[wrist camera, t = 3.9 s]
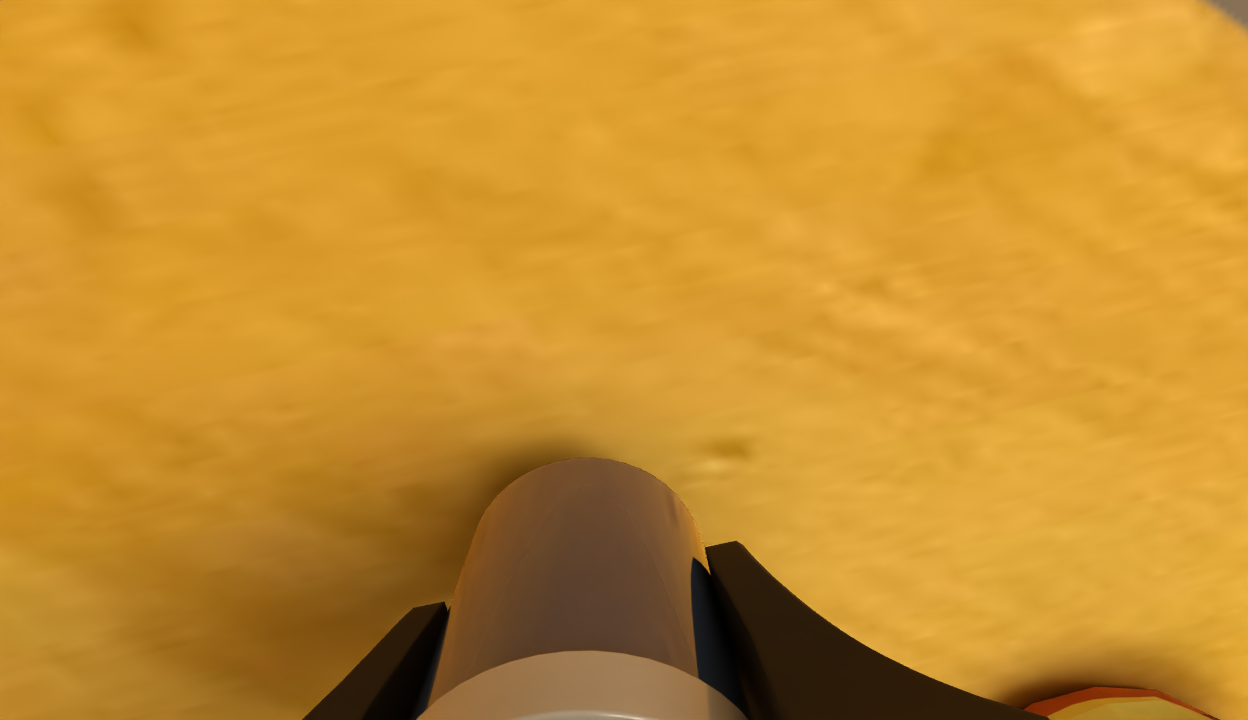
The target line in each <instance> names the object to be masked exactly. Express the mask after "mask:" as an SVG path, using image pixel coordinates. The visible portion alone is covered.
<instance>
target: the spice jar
mask: <svg viewBox="0 0 1248 720" xmlns="http://www.w3.org/2000/svg"><path fill="white" fill-rule="evenodd" d="M411 720H753V717H752V713H751V710H750V706H749V703H748V699H747V696H746V693H745V689H744V686H743V682H742V679H741V676H740V672H739V669H738V665H737V662H736V659H735V655H734V652H733V648H732V645H731V641H730V638H729V635H728V631H727V628H726V624H725V621H724V618H723V615H722V613H721V610H720V606H719V603H718V599H717V596H716V593H715V589H714V586H713V582H712V579H711V575H710V570H709V566H708V563H707V560H706V556H705V553H704V549H703V546H702V543H701V539H700V536H699V532H698V529H697V527H696V525H695V522H694V520H693V517H692V516H691V514H690V512H689V511H688V509H687V507H686V506H685V504H684V503H683V502H682V501H681V500H680V498H679V497H678V496H677V495H676V494H675V493H674V492H673V491H672V490H671V489H670V488H669V487H668V486H667V485H666V484H664V483H663V482H661V481H660V480H659V479H657V478H656V477H654V476H653V475H651V474H649V473H647V472H645V471H643V470H642V469H640V468H637V467H634V466H632V465H629V464H626V463H622V462H618V461H614V460H610V459H601V458H574V459H567V460H561V461H557V462H553V463H549V464H546V465H544V466H541V467H539V468H536V469H534V470H532V471H530V472H528V473H526V474H524V475H522V476H521V477H519V478H518V479H516V480H515V481H513V482H512V483H511V484H509V485H508V486H507V487H506V488H505V489H504V490H503V491H502V492H500V493H499V494H498V495H497V496H496V498H495V499H494V500H493V501H492V503H491V504H490V505H489V506H488V508H487V509H486V511H485V513H484V514H483V516H482V518H481V519H480V522H479V524H478V527H477V529H476V531H475V534H474V537H473V540H472V543H471V546H470V549H469V551H468V554H467V557H466V560H465V563H464V566H463V569H462V572H461V575H460V578H459V580H458V583H457V586H456V589H455V592H454V595H453V598H452V601H451V604H450V607H449V609H448V612H447V615H446V618H445V621H444V624H443V627H442V630H441V633H440V636H439V638H438V641H437V644H436V647H435V650H434V653H433V656H432V659H431V662H430V665H429V667H428V670H427V673H426V676H425V679H424V682H423V685H422V688H421V691H420V693H419V696H418V699H417V702H416V705H415V708H414V711H413V714H412V717H411Z"/></svg>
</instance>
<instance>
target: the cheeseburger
mask: <svg viewBox="0 0 1248 720" xmlns="http://www.w3.org/2000/svg"><path fill="white" fill-rule="evenodd" d="M1024 710H1025V711H1029V712H1032V713H1035V714H1039V715H1042V716H1045V717H1048V718H1049V719H1050V720H1219V719H1217V718H1215V717H1213V716H1211V715H1208V714H1206V713H1204V712H1202V711H1200V710H1198V709H1196V708H1194V707H1192V706H1189V705H1187V704H1185V703H1183V702H1181V701H1179V700H1177V699H1174V698H1172V697H1170V696H1168V695H1166V694H1164V693H1162V692H1160V691H1157V690H1144V689H1127V688H1110V687H1092V688H1088V689H1085V690H1081V691H1077V692H1074V693H1070V694H1066V695H1062V696H1059V697H1055V698H1051V699H1048V700H1044V701H1040V702H1036V703H1033V704H1031V705H1029V706H1028V707H1027V708H1026V709H1024Z"/></svg>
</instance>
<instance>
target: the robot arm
mask: <svg viewBox="0 0 1248 720" xmlns="http://www.w3.org/2000/svg"><path fill="white" fill-rule="evenodd" d="M705 550H706V555H707V560H708V565H709V570H710V575H711V579H712V582H713V586H714V589H715V593H716V596H717V599H718V603H719V606H720V610H721V613H722V615H723V618H724V621H725V624H726V628H727V631H728V635H729V638H730V641H731V645H732V648H733V652H734V655H735V659H736V662H737V665H738V669H739V672H740V676H741V679H742V682H743V686H744V689H745V693H746V696H747V699H748V703H749V706H750V710H751V713H752V717H753V720H1050V719H1049V718H1048V717H1045V716H1042V715H1039V714H1035V713H1032V712H1029V711H1025V710H1022V709H1019V708H1015V707H1012V706H1009V705H1005V704H1002V703H999V702H995V701H992V700H989V699H985V698H982V697H979V696H976V695H974V694H971V693H968V692H966V691H963V690H961V689H958V688H955V687H953V686H950V685H947V684H945V683H942V682H940V681H937V680H935V679H933V678H930V677H928V676H926V675H923V674H921V673H919V672H916V671H914V670H912V669H910V668H908V667H906V666H904V665H902V664H900V663H898V662H896V661H894V660H892V659H890V658H888V657H886V656H884V655H882V654H880V653H878V652H876V651H874V650H872V649H871V648H869V647H867V646H865V645H864V644H862V643H860V642H859V641H857V640H855V639H854V638H852V637H851V636H849V635H847V634H846V633H844V632H843V631H841V630H840V629H838V628H837V627H836V626H834V625H833V624H831V623H830V622H828V621H827V620H826V619H824V618H823V617H822V616H820V615H819V614H818V613H816V612H815V611H814V610H812V609H811V608H810V607H808V606H807V605H806V604H805V603H803V602H802V601H801V600H800V599H798V598H797V597H796V596H795V595H794V594H793V593H791V592H790V591H789V590H788V589H787V588H786V587H784V586H783V585H782V584H781V583H780V582H779V581H778V580H776V579H775V578H774V577H773V576H772V575H771V574H770V573H769V572H768V571H767V570H766V569H765V568H764V567H763V566H762V565H761V564H760V563H759V562H758V561H757V560H756V559H755V558H754V557H753V556H752V555H751V554H750V553H749V552H748V550H747V549H746V548H745V547H744V546H743V545H742V544H741V543H739V542H738V541H733V542H728V543H724V544H719V545H714V546H709V547H705ZM447 612H448V610H447V607H446V604H445V602H440V603H435V604H430V605H425V606H421V607H416V608H413V609H412V610H411V611H410V612H409V613H408V614H406V615H405V616H404V617H403V618H402V619H401V620H400V621H399V622H398V623H397V624H396V625H395V626H394V627H393V628H392V629H391V630H390V632H389V633H388V634H387V635H386V636H385V637H384V638H383V639H382V640H381V641H380V642H379V643H378V644H377V645H376V646H375V647H374V648H373V649H372V650H371V651H370V653H369V654H368V655H367V656H366V657H365V658H364V659H363V660H362V661H361V662H360V663H359V664H358V665H357V666H356V667H355V668H354V669H353V670H352V671H351V672H350V673H349V674H348V675H347V676H346V677H345V679H344V680H343V681H342V682H341V683H340V684H339V685H338V686H337V687H335V688H334V689H333V690H332V691H331V692H330V693H329V694H328V695H327V696H326V697H325V698H324V699H323V700H322V701H321V702H320V703H319V704H318V705H317V706H316V707H315V708H314V709H313V710H312V711H311V712H310V713H309V714H307V715H306V716H305V717H304V718H303V719H302V720H411V717H412V714H413V711H414V708H415V705H416V702H417V699H418V696H419V693H420V691H421V688H422V685H423V682H424V679H425V676H426V673H427V670H428V667H429V665H430V662H431V659H432V656H433V653H434V650H435V647H436V644H437V641H438V638H439V636H440V633H441V630H442V627H443V624H444V621H445V618H446V615H447Z"/></svg>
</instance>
